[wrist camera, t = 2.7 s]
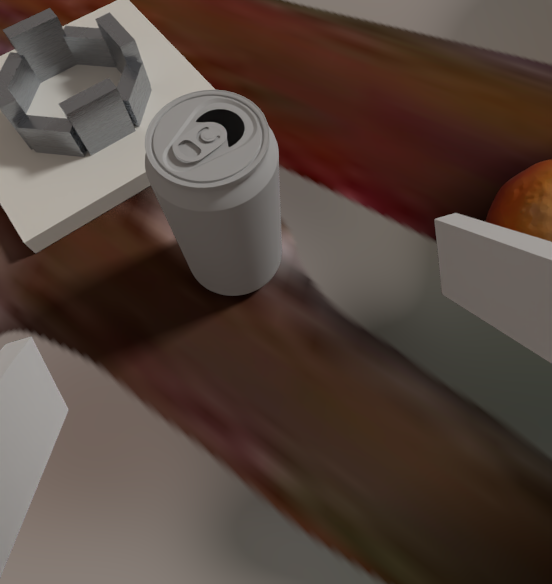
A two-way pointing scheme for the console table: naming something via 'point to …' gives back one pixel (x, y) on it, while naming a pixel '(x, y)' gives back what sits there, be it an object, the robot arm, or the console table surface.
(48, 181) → the board
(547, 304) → the robot arm
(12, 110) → the collar
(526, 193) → the fruit
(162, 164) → the beverage can
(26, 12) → the console table surface
